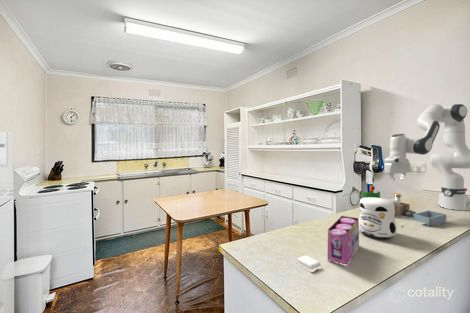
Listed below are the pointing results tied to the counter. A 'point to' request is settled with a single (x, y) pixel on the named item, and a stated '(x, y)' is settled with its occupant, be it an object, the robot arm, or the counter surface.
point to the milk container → (377, 217)
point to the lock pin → (397, 199)
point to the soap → (308, 262)
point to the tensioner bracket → (403, 210)
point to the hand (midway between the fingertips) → (397, 180)
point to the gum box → (343, 239)
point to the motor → (371, 193)
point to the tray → (433, 221)
